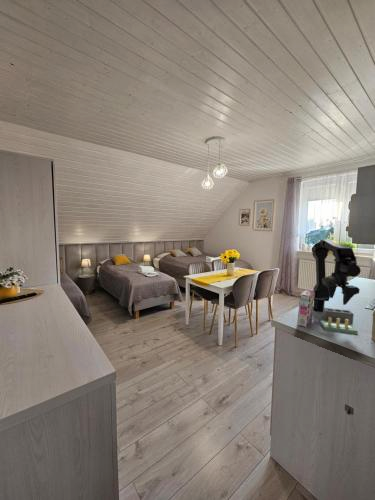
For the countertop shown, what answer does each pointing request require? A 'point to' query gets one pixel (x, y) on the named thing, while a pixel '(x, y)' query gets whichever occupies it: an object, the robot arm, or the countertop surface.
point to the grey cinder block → (338, 315)
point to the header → (338, 326)
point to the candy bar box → (305, 308)
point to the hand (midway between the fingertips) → (337, 301)
